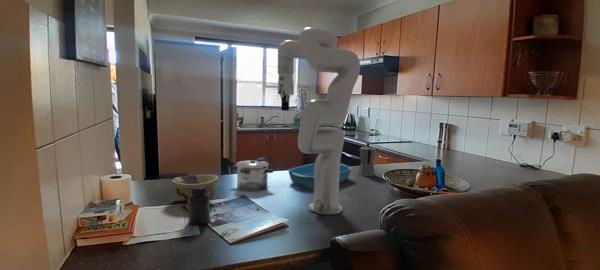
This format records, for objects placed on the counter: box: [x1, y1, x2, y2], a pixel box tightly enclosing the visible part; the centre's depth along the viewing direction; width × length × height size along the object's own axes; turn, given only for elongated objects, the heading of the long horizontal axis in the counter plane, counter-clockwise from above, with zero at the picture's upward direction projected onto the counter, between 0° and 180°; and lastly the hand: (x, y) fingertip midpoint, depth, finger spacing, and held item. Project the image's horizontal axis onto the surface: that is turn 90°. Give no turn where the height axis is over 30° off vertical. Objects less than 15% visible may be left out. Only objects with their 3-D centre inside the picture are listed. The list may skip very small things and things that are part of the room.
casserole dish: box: [288, 162, 352, 190], centre depth 166 cm, size 37×22×7 cm, turn 140°
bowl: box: [171, 174, 219, 203], centre depth 130 cm, size 18×18×10 cm
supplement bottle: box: [187, 185, 211, 226], centre depth 109 cm, size 7×7×12 cm
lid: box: [236, 156, 269, 169], centre depth 154 cm, size 20×15×2 cm
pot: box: [232, 165, 274, 192], centre depth 151 cm, size 15×20×10 cm
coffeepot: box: [357, 142, 377, 177], centre depth 182 cm, size 15×9×18 cm, turn 175°
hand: (285, 110), depth 153 cm, fingers closed
